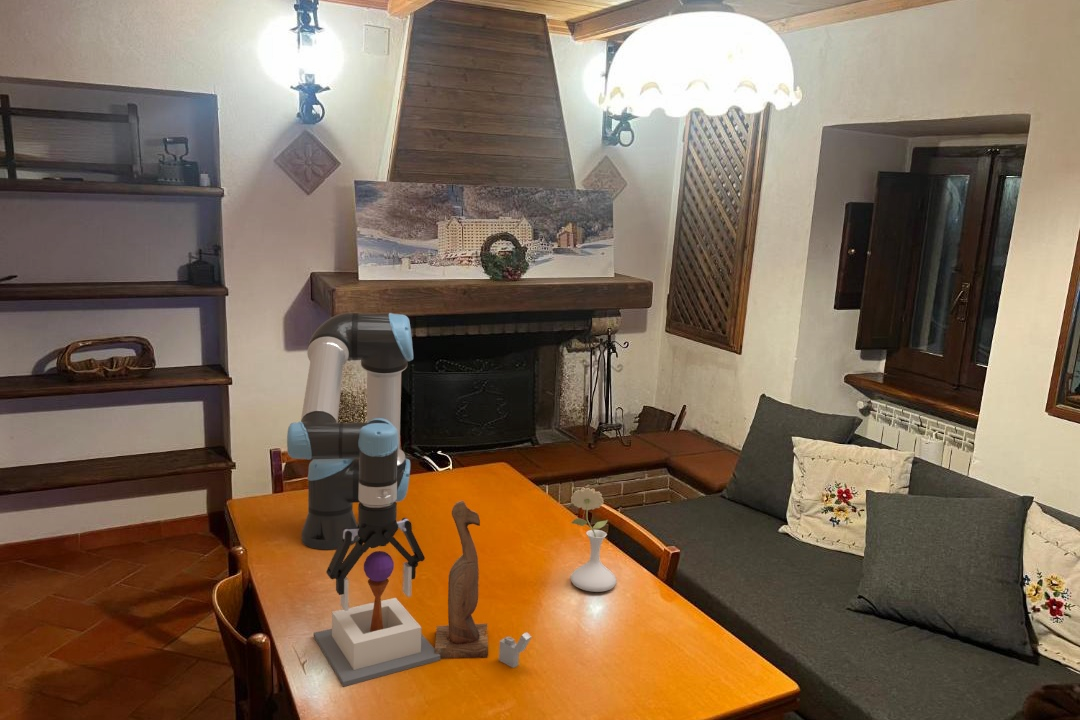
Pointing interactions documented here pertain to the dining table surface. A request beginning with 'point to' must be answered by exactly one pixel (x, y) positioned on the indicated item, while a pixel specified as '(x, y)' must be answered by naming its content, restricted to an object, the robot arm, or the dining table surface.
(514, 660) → the lighter
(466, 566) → the bird sculpture
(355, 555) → the robot arm
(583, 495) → the flower in vase
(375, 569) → the kendama
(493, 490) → the dining table surface
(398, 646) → the socket
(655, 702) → the dining table surface
